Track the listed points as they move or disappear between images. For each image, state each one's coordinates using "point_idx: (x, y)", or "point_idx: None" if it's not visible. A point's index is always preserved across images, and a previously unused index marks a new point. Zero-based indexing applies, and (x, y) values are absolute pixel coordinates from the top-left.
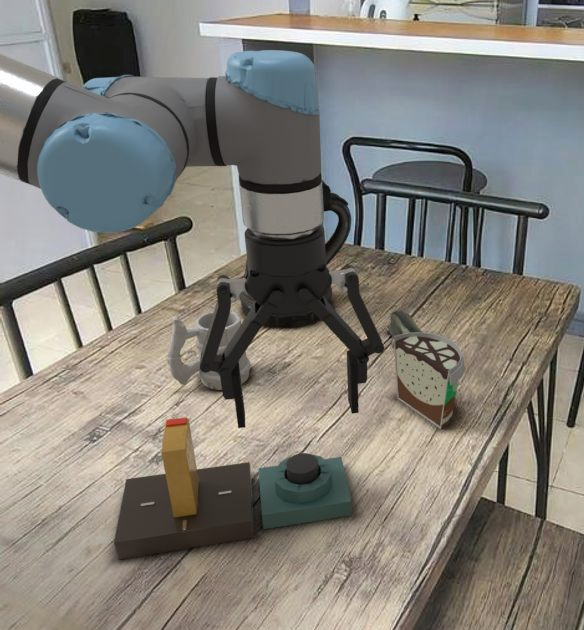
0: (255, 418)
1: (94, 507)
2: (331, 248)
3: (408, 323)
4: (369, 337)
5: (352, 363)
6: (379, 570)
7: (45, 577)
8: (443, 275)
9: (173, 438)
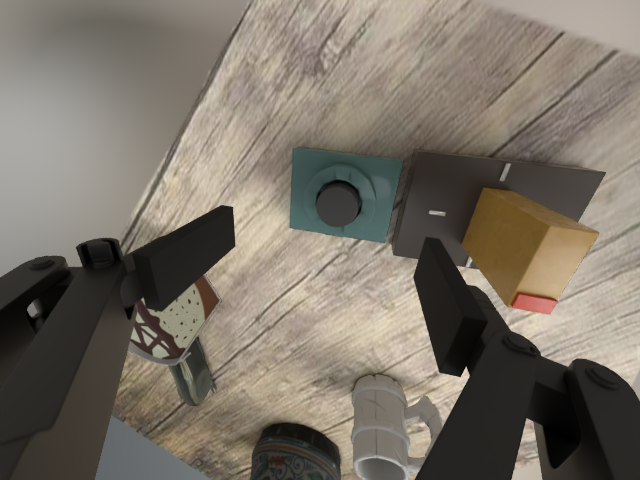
0: (364, 326)
1: None
2: None
3: (181, 385)
4: (11, 294)
5: (145, 256)
6: (286, 41)
7: None
8: (158, 430)
9: (558, 263)
